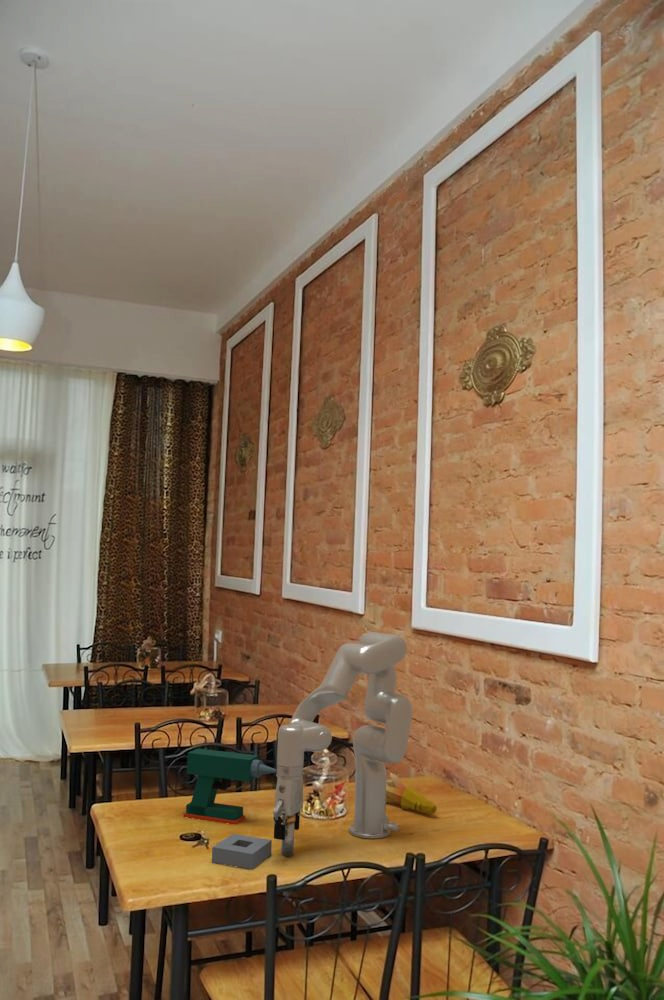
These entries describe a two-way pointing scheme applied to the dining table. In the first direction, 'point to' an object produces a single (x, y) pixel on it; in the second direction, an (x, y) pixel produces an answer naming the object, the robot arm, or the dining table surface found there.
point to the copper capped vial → (288, 837)
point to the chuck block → (241, 851)
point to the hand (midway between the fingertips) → (286, 833)
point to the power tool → (208, 782)
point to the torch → (407, 797)
